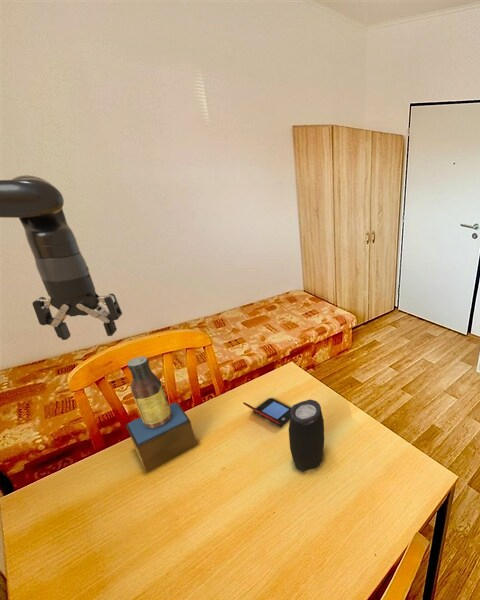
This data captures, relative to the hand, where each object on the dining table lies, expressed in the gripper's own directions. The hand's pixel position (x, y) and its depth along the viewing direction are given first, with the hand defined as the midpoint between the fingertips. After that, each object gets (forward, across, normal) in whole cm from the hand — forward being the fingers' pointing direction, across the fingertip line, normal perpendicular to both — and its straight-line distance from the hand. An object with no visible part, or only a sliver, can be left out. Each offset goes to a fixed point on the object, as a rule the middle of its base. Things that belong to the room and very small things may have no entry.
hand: (89, 336), depth 76 cm
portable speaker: (+36, +48, -20) cm, 63 cm away
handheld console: (+36, +38, 0) cm, 52 cm away
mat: (+26, +10, -5) cm, 28 cm away
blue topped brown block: (+36, +10, -5) cm, 38 cm away
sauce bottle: (+26, +10, -5) cm, 28 cm away
